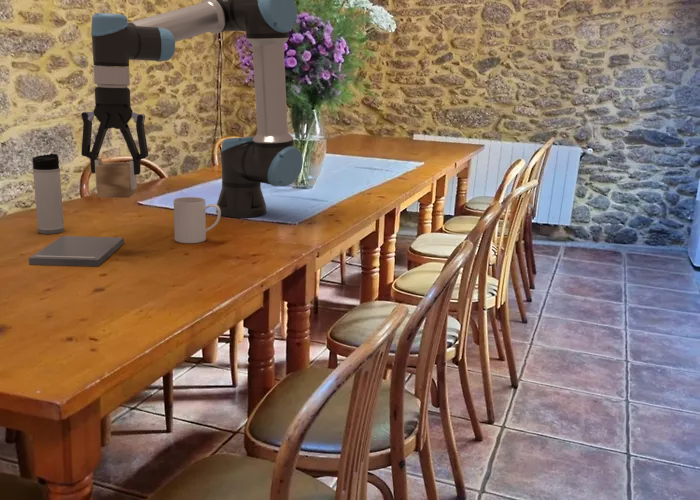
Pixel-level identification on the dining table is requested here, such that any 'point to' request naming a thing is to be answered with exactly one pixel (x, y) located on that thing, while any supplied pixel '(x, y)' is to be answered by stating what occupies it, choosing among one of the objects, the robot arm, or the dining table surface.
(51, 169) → the travel mug
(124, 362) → the dining table surface
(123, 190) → the oak cube
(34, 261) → the slate board
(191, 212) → the mug
